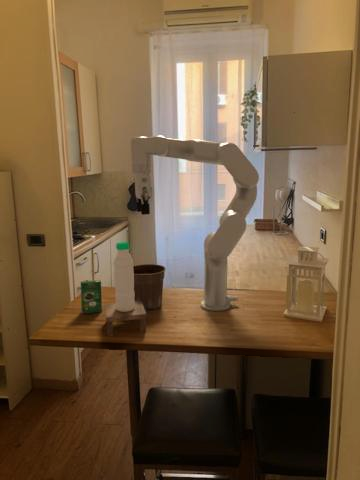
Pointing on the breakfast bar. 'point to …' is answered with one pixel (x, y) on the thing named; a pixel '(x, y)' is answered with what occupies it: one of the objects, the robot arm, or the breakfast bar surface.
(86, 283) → the coffee box
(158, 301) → the plant pot
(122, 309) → the water bottle
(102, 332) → the breakfast bar surface
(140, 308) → the small square stand
